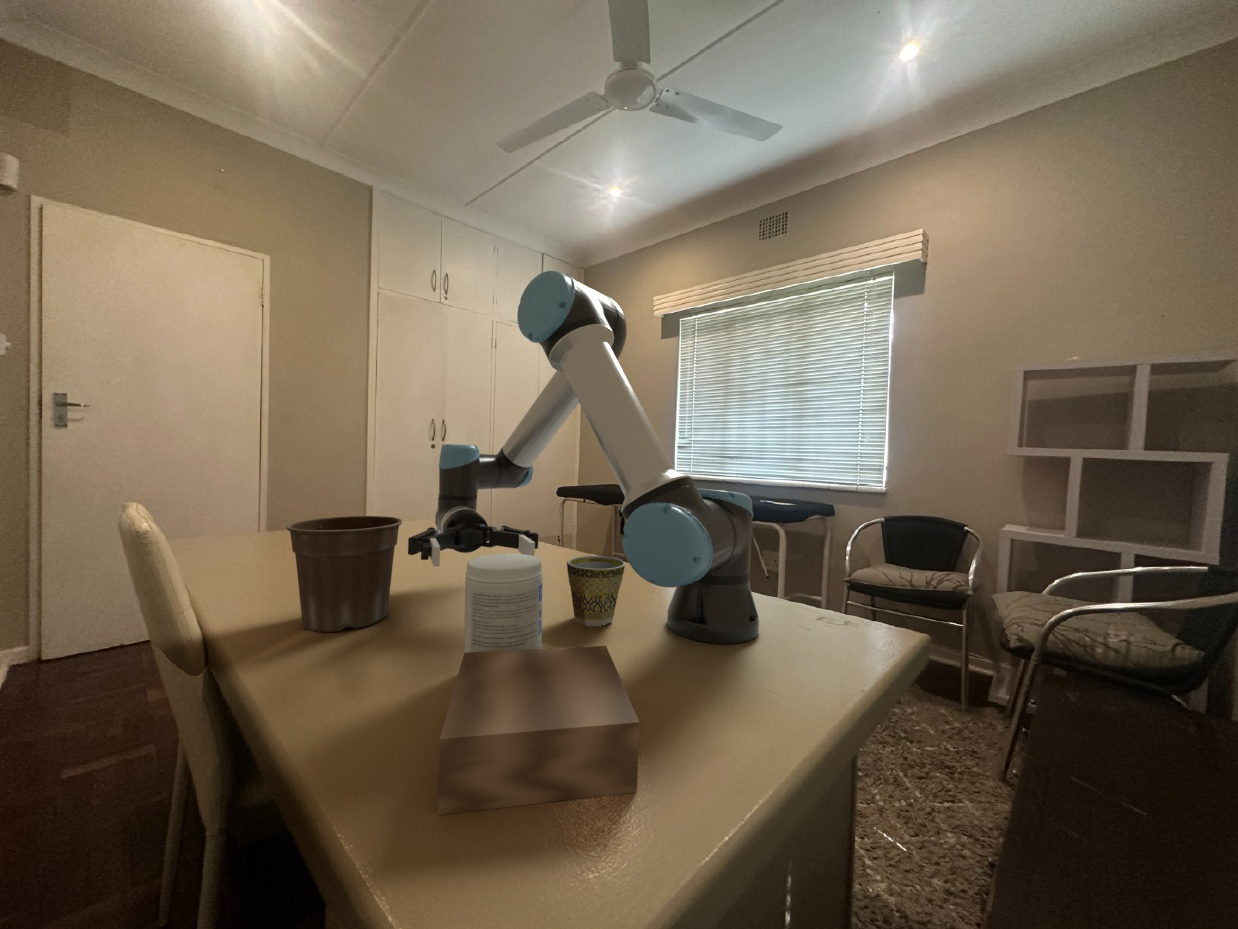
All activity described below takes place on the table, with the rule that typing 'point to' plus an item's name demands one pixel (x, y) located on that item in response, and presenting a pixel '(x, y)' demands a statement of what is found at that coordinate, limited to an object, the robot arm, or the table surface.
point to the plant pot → (344, 570)
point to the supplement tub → (503, 603)
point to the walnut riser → (536, 730)
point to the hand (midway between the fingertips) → (486, 554)
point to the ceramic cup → (594, 588)
